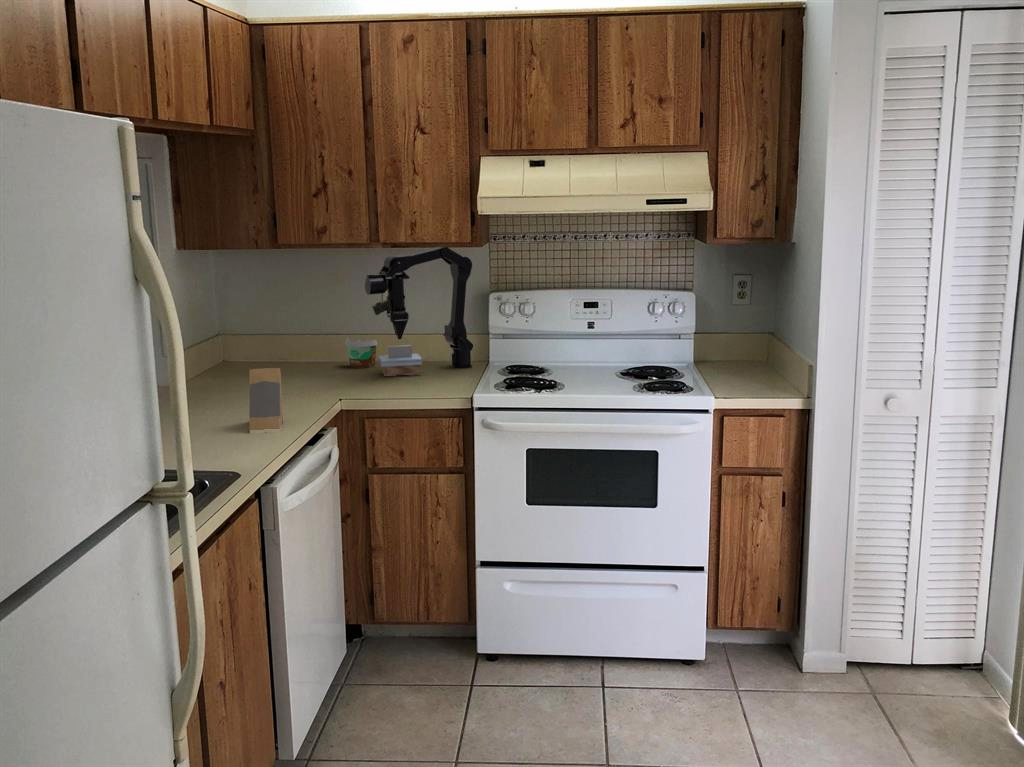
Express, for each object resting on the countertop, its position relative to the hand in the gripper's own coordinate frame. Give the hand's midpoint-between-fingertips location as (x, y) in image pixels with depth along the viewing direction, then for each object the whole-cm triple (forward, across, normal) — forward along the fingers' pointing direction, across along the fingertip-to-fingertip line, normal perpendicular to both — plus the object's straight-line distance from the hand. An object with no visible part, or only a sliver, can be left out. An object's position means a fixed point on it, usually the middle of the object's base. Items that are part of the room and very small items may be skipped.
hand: (398, 337), depth 323 cm
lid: (+9, +1, 0) cm, 9 cm away
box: (+13, +1, 0) cm, 13 cm away
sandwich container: (+13, +65, -43) cm, 79 cm away
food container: (+13, -16, -13) cm, 25 cm away
